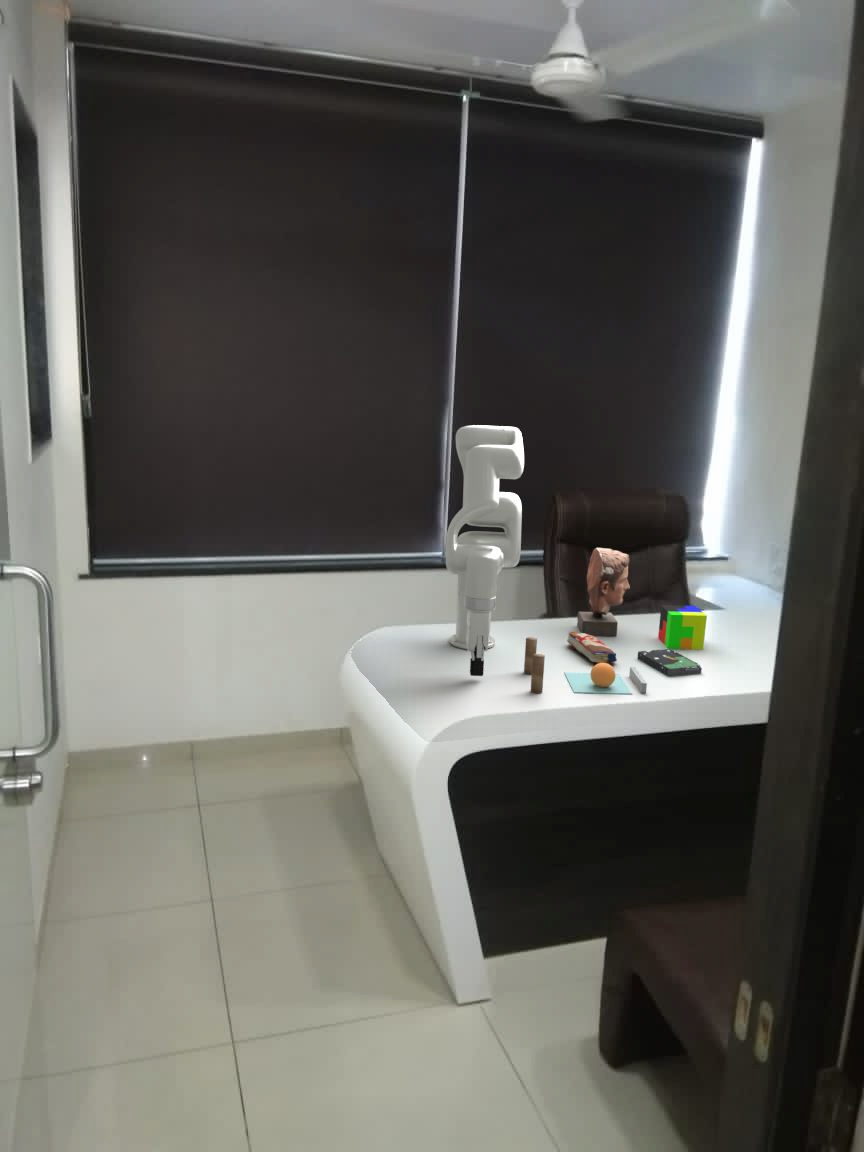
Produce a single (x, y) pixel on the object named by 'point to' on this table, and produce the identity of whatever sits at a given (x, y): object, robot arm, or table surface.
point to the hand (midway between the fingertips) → (476, 674)
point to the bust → (604, 591)
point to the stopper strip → (638, 680)
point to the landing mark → (585, 685)
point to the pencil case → (591, 648)
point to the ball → (602, 675)
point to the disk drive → (669, 662)
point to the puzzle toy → (682, 627)
